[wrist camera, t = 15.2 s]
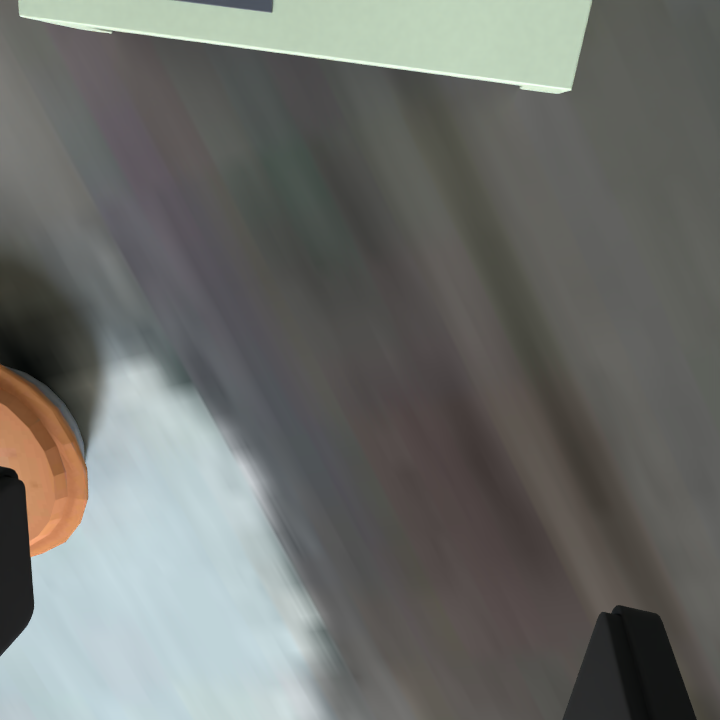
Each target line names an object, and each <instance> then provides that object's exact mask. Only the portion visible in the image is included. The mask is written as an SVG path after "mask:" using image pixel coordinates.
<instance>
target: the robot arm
mask: <svg viewBox="0 0 720 720" xmlns="http://www.w3.org/2000/svg"><path fill="white" fill-rule="evenodd" d="M33 610H34V596H33V583H32V570H31V557H30V543H29V530H28V517H27V503H26V490H25V485H24V483H23V481H21V480H19V478H18V474H17V473H16V471H15V470H13V469H11V468H7V467H2V466H0V656H1V655H2V654H3V653H4V652H5V650H6V649H7V648H8V647H9V646H10V645H11V644H12V643H13V641H14V640H15V639H16V638H17V637H18V636H19V635H20V634H21V633H22V631H23V630H24V629H25V628H26V626H27V625H28V623H29V621H30V619H31V617H32V614H33ZM563 720H697V719H696V716H695V714H694V711H693V708H692V705H691V702H690V699H689V696H688V694H687V691H686V688H685V685H684V682H683V679H682V677H681V674H680V671H679V668H678V665H677V662H676V659H675V657H674V654H673V651H672V648H671V645H670V642H669V639H668V637H667V634H666V631H665V628H664V625H663V622H662V620H661V618H660V616H659V615H657V614H656V613H652V612H647V611H643V610H638V609H634V608H629V607H625V606H620V605H618V606H616V607H615V608H614V609H613V611H612V613H611V614H610V613H606V612H601V614H600V615H599V617H598V619H597V622H596V625H595V628H594V631H593V633H592V636H591V639H590V642H589V645H588V648H587V651H586V654H585V657H584V659H583V662H582V665H581V668H580V671H579V674H578V677H577V680H576V683H575V685H574V688H573V691H572V694H571V697H570V700H569V703H568V706H567V708H566V711H565V714H564V717H563Z"/></svg>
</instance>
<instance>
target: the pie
mask: <svg viewBox="0 0 720 720" xmlns="http://www.w3.org/2000/svg"><path fill="white" fill-rule="evenodd" d="M0 466H2V467H7V468H11V469H13V470H15V471H16V473H17V474H18V478H19V480H21V481H23V483H24V485H25V490H26V503H27V517H28V530H29V543H30V557H32V556H36V555H39V554H42V553H44V552H46V551H48V550H50V549H52V548H54V547H56V546H58V545H60V544H62V543H64V542H66V541H67V539H68V538H69V537H70V536H71V534H72V533H73V532H74V530H75V529H76V528H77V527H78V525H79V524H80V523H81V520H82V517H83V513H84V510H85V507H86V503H87V500H88V478H87V467H86V464H85V454H84V442H83V439H82V437H81V434H80V431H79V428H78V425H77V422H76V421H75V419H74V418H73V416H72V414H71V413H70V411H69V410H68V408H67V407H66V405H65V404H64V402H63V401H62V400H61V399H60V398H59V397H58V396H57V395H56V394H55V393H54V392H53V391H52V390H51V389H50V388H48V387H47V386H46V385H45V384H43V383H42V382H40V381H38V380H37V379H35V378H34V377H32V376H30V375H29V374H27V373H25V372H22V371H19V370H16V369H13V368H10V367H7V366H4V365H1V364H0Z"/></svg>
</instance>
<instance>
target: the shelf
mask: <svg viewBox="0 0 720 720" xmlns="http://www.w3.org/2000/svg"><path fill="white" fill-rule="evenodd" d="M18 4H19V15H20V16H21V17H25V18H29V19H34V20H39V21H44V22H48V23H53V24H58V25H62V26H67V27H72V28H77V29H82V30H90V31H97V32H104V33H112V30H113V31H120V32H128V33H135V34H143V35H150V36H158V37H165V38H172V39H180V40H187V41H195V42H202V43H209V44H217V45H224V46H232V47H239V48H247V49H254V50H261V51H269V52H276V53H284V54H291V55H299V56H306V57H313V58H321V59H328V60H336V61H343V62H350V63H358V64H365V65H373V66H380V67H388V68H395V69H402V70H410V71H417V72H425V73H432V74H439V75H447V76H454V77H462V78H469V79H477V80H484V81H491V82H499V83H506V84H514V85H520V87H519V88H520V89H525V90H533V91H540V92H547V93H555V94H559V93H563V92H566V91H569V90H571V89H572V86H573V81H574V77H575V73H576V69H577V64H578V60H579V56H580V51H581V47H582V43H583V39H584V34H585V30H586V26H587V22H588V17H589V13H590V9H591V5H592V0H18Z"/></svg>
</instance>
